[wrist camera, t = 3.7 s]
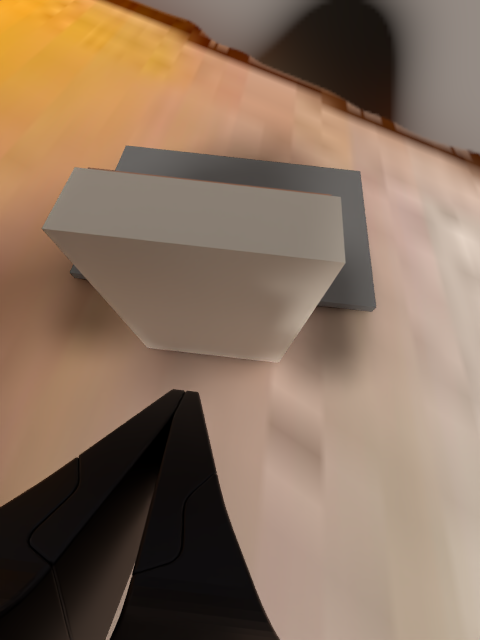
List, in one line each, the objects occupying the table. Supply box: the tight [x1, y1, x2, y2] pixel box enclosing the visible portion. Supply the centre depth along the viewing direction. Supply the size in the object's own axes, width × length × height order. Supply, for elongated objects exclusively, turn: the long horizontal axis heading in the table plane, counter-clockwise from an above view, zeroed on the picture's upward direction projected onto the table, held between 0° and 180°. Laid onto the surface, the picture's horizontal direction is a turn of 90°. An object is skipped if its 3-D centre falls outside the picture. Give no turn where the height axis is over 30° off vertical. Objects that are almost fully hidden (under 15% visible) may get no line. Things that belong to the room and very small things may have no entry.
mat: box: [70, 146, 376, 312], centre depth 20 cm, size 13×20×1 cm, turn 84°
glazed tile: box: [42, 167, 346, 363], centre depth 12 cm, size 3×8×10 cm, turn 84°
